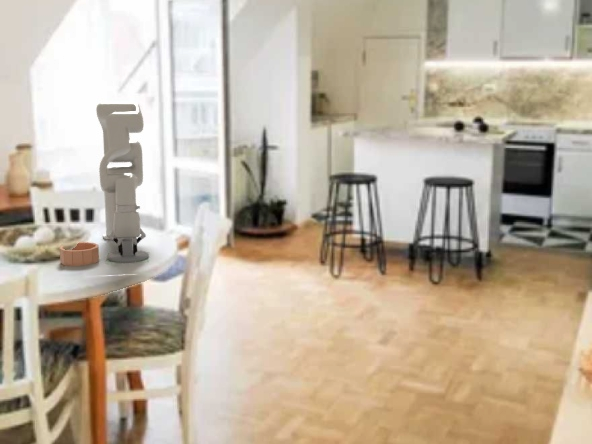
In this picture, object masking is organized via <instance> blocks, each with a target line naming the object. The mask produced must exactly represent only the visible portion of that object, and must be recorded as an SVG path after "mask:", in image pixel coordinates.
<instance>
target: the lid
mask: <svg viewBox="0 0 592 444" xmlns="http://www.w3.org/2000/svg"><path fill="white" fill-rule="evenodd" d="M147 252H148V251H143V250H139V249H137V252H135V255H133V247H132V239H123V254H122V255H120V253H119V251H113V252H109V253H110V254H107V255H106V261H107V260H108V261H111V262H116V263H118V264H134V263H133V262H140V261H144V260H146V259H148V258H149V259H150V253H149V254H148V253H147Z"/></svg>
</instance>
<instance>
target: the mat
mask: <svg viewBox="0 0 592 444" xmlns="http://www.w3.org/2000/svg"><path fill="white" fill-rule="evenodd" d="M146 252H147V253H148V254H149V255H150V251H146ZM110 253H111V252H109V253H108V254H110ZM108 254H107V255H108ZM149 262H150V257H149V258H148V259H146V260H144V261H140V262H133V263H132V264H135V263H136V264H138V263H139V264H142V263H144V264H145V263H149ZM110 264H111V265H112V264H115V265H116V264H119V263H116V262H111V261H108V260H107V259H106V262H105V265H110Z"/></svg>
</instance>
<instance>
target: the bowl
mask: <svg viewBox="0 0 592 444" xmlns="http://www.w3.org/2000/svg"><path fill="white" fill-rule="evenodd" d="M99 251H100V250H99V244H98V243H94V242H87V241H80V242H79V243H78V244H77V246H76V247H75V248H73V249H72V250H65V249H64V248H63V246H62V245H60V247H59V260H60V261H59V262H60V264H61V265H62V266H72V267H73V266H75V267H77V266H87V265H88V266H89V265H92V264H95V263H98V262H99V259H100V252H99Z"/></svg>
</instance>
